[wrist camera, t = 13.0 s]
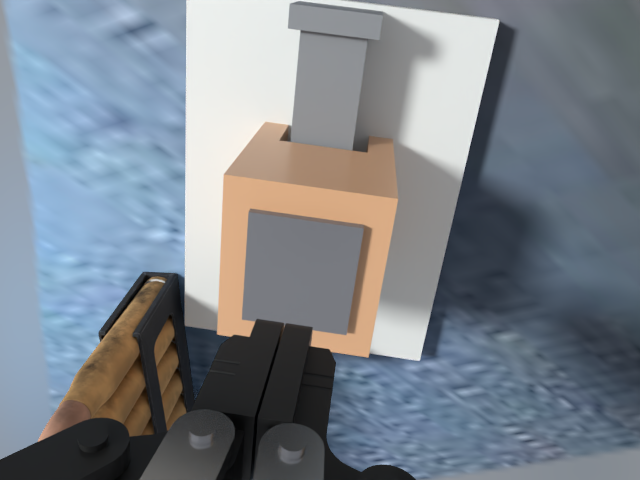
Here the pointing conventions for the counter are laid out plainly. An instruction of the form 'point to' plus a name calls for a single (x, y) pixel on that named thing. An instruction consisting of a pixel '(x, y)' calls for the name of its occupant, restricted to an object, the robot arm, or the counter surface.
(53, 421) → the ammunition clip
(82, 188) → the counter surface
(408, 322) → the rail board
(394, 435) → the counter surface
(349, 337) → the block
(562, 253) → the counter surface
